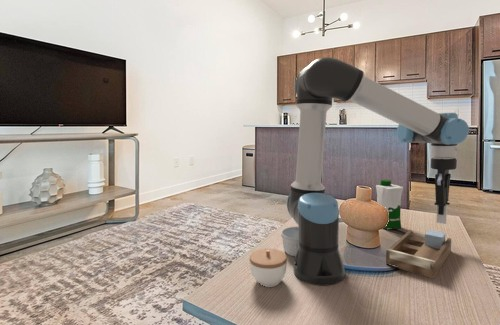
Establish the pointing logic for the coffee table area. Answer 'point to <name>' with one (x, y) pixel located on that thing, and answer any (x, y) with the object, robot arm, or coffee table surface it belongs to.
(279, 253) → the lidded jar
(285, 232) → the ramekin
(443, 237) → the blue block
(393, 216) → the milk carton
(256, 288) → the coffee table surface
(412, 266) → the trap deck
